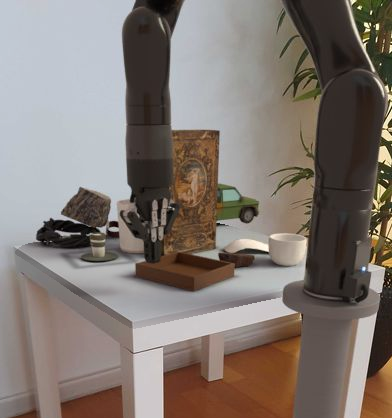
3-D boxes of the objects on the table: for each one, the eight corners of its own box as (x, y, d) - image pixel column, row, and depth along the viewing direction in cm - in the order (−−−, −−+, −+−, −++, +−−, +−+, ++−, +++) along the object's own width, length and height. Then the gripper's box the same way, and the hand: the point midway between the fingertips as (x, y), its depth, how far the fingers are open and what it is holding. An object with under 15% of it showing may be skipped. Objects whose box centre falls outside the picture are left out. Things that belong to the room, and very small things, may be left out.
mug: (146, 255, 119) (145, 206, 115) (110, 250, 122) (108, 203, 118) (169, 245, 128) (169, 199, 124) (136, 241, 131) (135, 196, 127)
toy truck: (261, 223, 154) (263, 185, 150) (195, 230, 144) (195, 191, 140) (239, 216, 163) (240, 180, 159) (174, 223, 153) (174, 185, 149)
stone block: (69, 181, 124) (57, 213, 125) (106, 199, 124) (93, 231, 126) (85, 185, 137) (74, 214, 139) (118, 201, 138) (106, 229, 139)
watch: (107, 230, 141) (104, 216, 139) (125, 227, 141) (123, 214, 139) (105, 241, 134) (102, 227, 132) (124, 238, 134) (121, 224, 132)
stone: (212, 265, 112) (212, 250, 111) (232, 259, 118) (233, 244, 116) (238, 272, 109) (240, 256, 107) (258, 265, 114) (260, 250, 113)
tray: (234, 276, 106) (234, 263, 105) (194, 291, 97) (194, 277, 96) (177, 263, 113) (177, 251, 112) (135, 276, 104) (135, 263, 103)
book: (202, 243, 131) (205, 129, 121) (219, 247, 127) (223, 130, 117) (147, 253, 120) (146, 130, 110) (163, 258, 117) (163, 131, 107)
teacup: (308, 268, 112) (311, 241, 110) (271, 268, 112) (273, 241, 109) (296, 255, 121) (298, 231, 119) (262, 255, 121) (263, 231, 119)
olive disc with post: (135, 260, 114) (134, 236, 112) (77, 266, 109) (75, 241, 107) (116, 248, 124) (116, 225, 122) (63, 252, 119) (61, 229, 117)
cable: (53, 231, 139) (51, 213, 138) (108, 234, 139) (107, 216, 137) (31, 246, 123) (29, 227, 122) (93, 249, 123) (92, 229, 121)
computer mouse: (276, 257, 120) (276, 244, 119) (221, 255, 123) (221, 243, 121) (279, 247, 128) (280, 235, 127) (228, 246, 130) (228, 234, 129)
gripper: (138, 159, 81) (142, 274, 88) (193, 154, 91) (194, 258, 98) (102, 156, 85) (109, 266, 92) (159, 152, 95) (161, 252, 102)
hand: (153, 262), depth 95 cm, fingers closed
